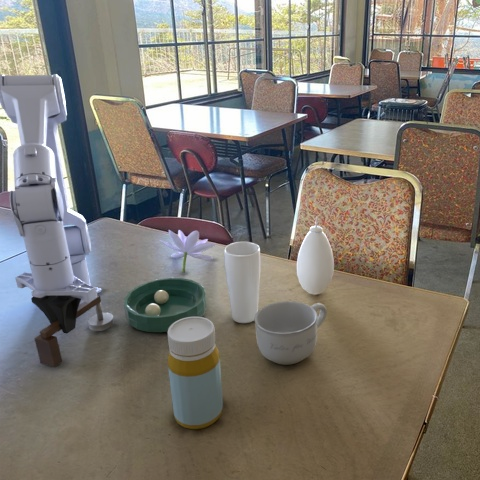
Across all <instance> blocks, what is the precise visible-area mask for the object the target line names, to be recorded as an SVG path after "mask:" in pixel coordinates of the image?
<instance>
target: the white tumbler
mask: <svg viewBox="0 0 480 480" xmlns="http://www.w3.org/2000/svg"><path fill="white" fill-rule="evenodd" d="M223 263H224V273H225V281H226V284H227V285H226V286H227V293H228V299H229V307H230V316H231V319H232V320H233V321H234V322H236V323H239V324H249V323H252V322H255V321H254V317H255V315H256V313H257V312H258V311H259V304H260V303H259V302H260V288H261V287H260V286H261V274H262V273H261V272H262V257H261V247H260V245H258V244H257V243H254V242H251V241H236V242H231V243H230V244H227V245H226V246H225V247H224V250H223Z"/></svg>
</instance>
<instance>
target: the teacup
mask: <svg viewBox="0 0 480 480" xmlns="http://www.w3.org/2000/svg"><path fill="white" fill-rule="evenodd" d="M327 309H328V308H327V307H326V306H325V305H324V304H323V303H321V302H317V303H313V304H312V305H309V304H307V303H303V302H300V301H295V300H284V301H276V302H272V303H269V304H266V305H265V306H263V307H261V308H260V309H258V312H257V313H256V315H255V317H254V321H253V322H254V325H255V334H256V343H257V347H258V350H259V351H260V353H261V355H262V356H263V357H264V358H266V359H267V360H269V361H271V362H273V363H275V364H278V365H287V366H288V365H294V364H297V363H300V362H301V361H303V360H305V359H306V358H308V357H309V356H311V354H312V353H313V352H314V350H315V348H316V345H317V340H318V329H319V328H320V327H321V325H322V324H324V322H325V320H326V318H327V315H328V310H327ZM318 311H319V314H318V313H317V312H318Z"/></svg>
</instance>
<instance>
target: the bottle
mask: <svg viewBox="0 0 480 480" xmlns="http://www.w3.org/2000/svg"><path fill="white" fill-rule="evenodd" d="M167 341H168V342H167V343H168V347H169V350H168V351H169V354H168V357H167V368H168V369H167V370H168V379H169V386H170V392H171V402H172V410H173V416H174V420H175V422H176V423H177V424H178V425H179V426H181V427H183V428H185V429H189V430H201V429H205V428H208V427H209V426H212V425H213V424H214V423H215V422H216V421H217V420H218V419H220V417H221V415H222V414H223V410H224V400H223V386H222V372H221V371H222V370H221V359H220V358H221V356H220V351H219V349H218V346H217V345H216V331H215V325H214V323H213V321H211V319H209V318H206V317H203V316H202V317H186V318H183V319H180V320H178V321H176V322H174V323H173V324H172V325H171V326H170V327H169V329H168V331H167Z"/></svg>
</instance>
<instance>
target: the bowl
mask: <svg viewBox="0 0 480 480" xmlns="http://www.w3.org/2000/svg"><path fill="white" fill-rule="evenodd" d="M159 290H164V291H166V292H167V293H168V295H169V298H168V301H167V302H166V303H164V304H158V303H157V302H156V301H155V299H154V295H155V293H156V292H157V291H159ZM123 299H124V300H123V309H124V315H125V320H126V321H127V323H128V324H129V325H130V326H131V327H133V328H134V329H136V330H138V331H143V332H148V333H167V332H168V329H169V327H170V326H171V325H172V324H173V323H174V322H176V321H178V320H180V319H183V318H186V317H203V316H204V315H205V314H206V311H207V308H208V304H207V293H206V290H205V287H204V286H203V285H201V283H200V282H197V281H195V280H193V279H189V278H184V277H167V278H158V279H154V280H150V281H147V282H145V283H142V284H140V285H138V286H135V287H134V288H133V289H132V290H130V291H129V292H128V293H127V294H126V296H125V297H124V298H123ZM149 304H157V305H158V306H159V307H160V310H161V311H160V314H159V316H148V315H146V313H145V309H146V307H147V306H148V305H149Z"/></svg>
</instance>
